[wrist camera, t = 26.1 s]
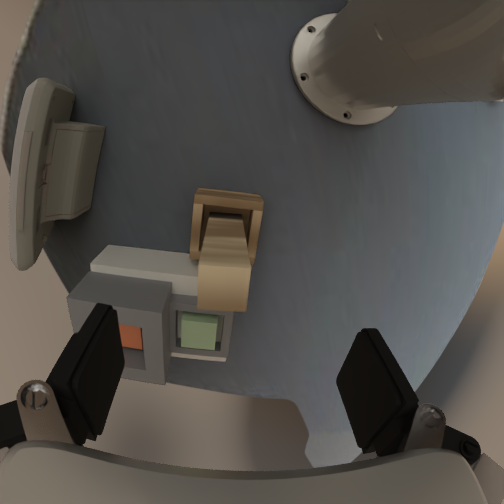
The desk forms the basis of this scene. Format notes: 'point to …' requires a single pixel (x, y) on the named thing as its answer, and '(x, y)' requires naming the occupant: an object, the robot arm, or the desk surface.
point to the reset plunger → (131, 336)
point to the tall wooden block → (224, 265)
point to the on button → (198, 330)
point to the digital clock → (49, 168)
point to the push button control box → (148, 306)
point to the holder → (225, 203)
